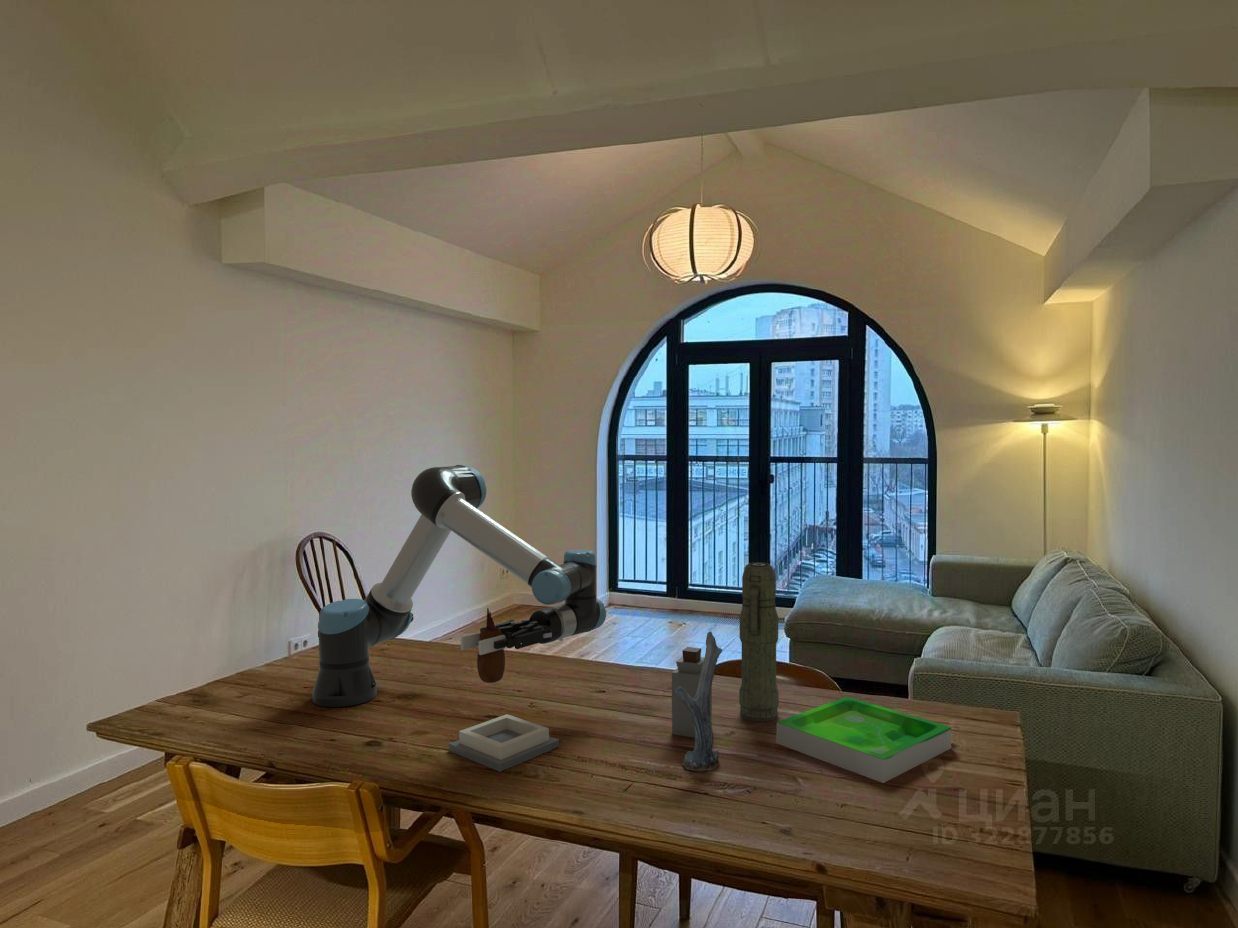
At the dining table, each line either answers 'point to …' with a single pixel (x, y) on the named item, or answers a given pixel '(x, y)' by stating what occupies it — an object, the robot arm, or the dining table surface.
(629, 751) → the dining table surface
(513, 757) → the socket plinth
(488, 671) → the wooden figurine
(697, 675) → the perfume bottle
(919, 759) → the tray
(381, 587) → the robot arm
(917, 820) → the dining table surface
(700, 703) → the antler
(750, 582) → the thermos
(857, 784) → the dining table surface
